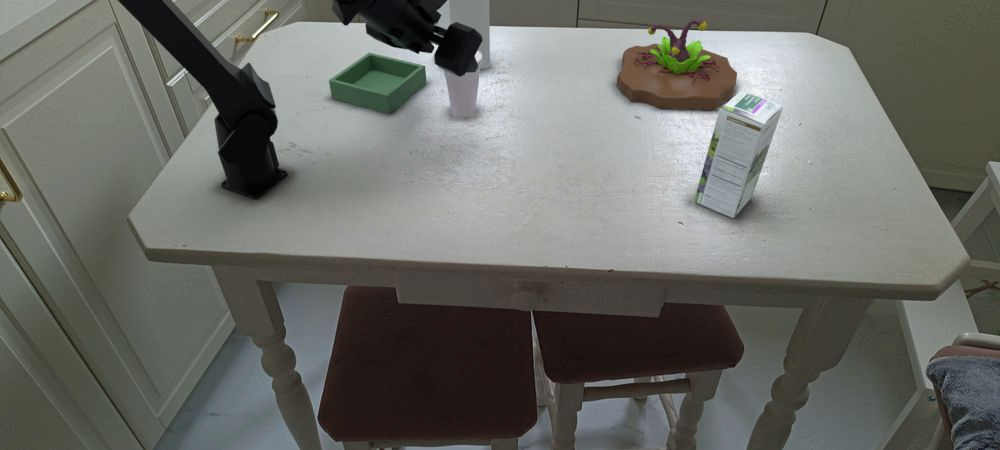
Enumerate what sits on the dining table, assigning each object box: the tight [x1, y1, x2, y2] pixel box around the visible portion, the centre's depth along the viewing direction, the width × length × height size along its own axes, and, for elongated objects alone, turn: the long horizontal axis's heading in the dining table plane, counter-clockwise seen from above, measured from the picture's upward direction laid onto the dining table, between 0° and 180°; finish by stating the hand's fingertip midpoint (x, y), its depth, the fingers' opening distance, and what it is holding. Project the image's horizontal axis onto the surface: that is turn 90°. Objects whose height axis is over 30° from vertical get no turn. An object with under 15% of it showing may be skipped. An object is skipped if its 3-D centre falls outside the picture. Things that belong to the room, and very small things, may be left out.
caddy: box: [328, 52, 427, 115], centre depth 107 cm, size 11×11×3 cm
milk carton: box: [436, 0, 491, 70], centre depth 110 cm, size 7×7×19 cm
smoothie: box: [443, 50, 483, 119], centre depth 98 cm, size 6×6×14 cm
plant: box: [616, 18, 738, 111], centre depth 107 cm, size 20×20×11 cm
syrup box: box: [693, 91, 784, 219], centre depth 81 cm, size 6×6×14 cm
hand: (453, 59), depth 95 cm, fingers open, 9 cm apart
